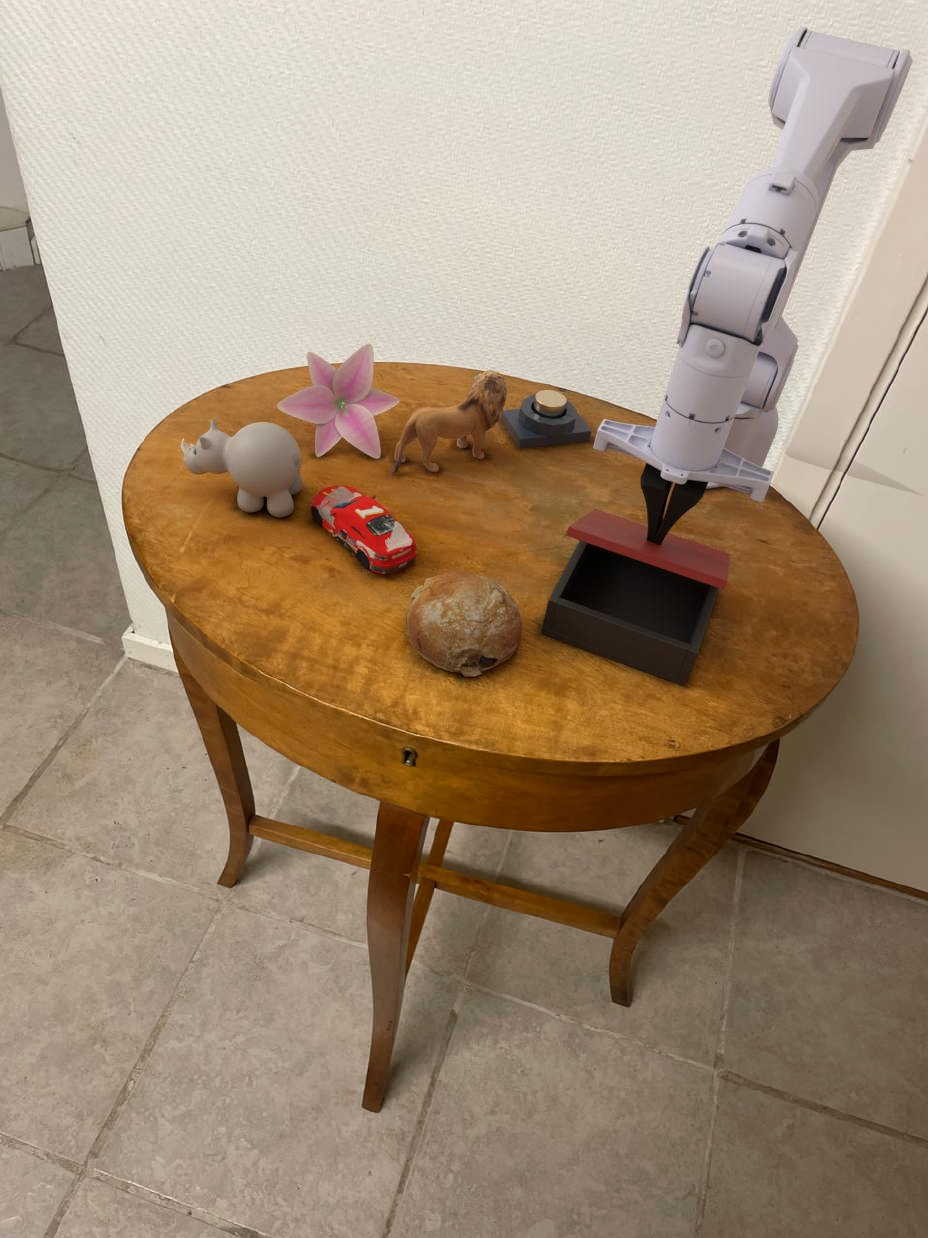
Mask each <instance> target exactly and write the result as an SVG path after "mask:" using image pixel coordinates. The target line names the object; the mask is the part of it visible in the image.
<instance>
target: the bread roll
mask: <svg viewBox="0 0 928 1238" xmlns="http://www.w3.org/2000/svg"><path fill="white" fill-rule="evenodd" d="M410 600H411V601H412V600H413V601H412V603H411V604H410V606H409V609H408V613H407V615H406V622H407V625H406V626H407V632H406V635H407V636H408V637H407V638H408V640H409V642H410V644H411V646H412V649H413V650H414V652H416V653H418V655H419V656H421V658H423V660H425V661H426V662H429V663H431V664H432V665H434V666H435V667H436V668H439V669H441V670H444V671H447V672H451V673H460V674H461V675H462V676H463V677H464V678H466V677H467V678H468V677H469V678H470V677H471V678H472V677H477V676H480V675H483V673H482V672H484V671H488V670H490V669H492V668H494V667H497V666H498V665H499V664H500V663H504V662H506V660H508V659H510V658H511V657H512V656H513V655H514V654H515V653H516V651H517V649H518V646H520V645H519V644H520V643H521V638H522V634H523V633H522V632H523V625H522V618H521V617H522V616H521V613H520V609H519V606H518V605H517V602H516V601H515V599H514V598H513V596H511V594H510V593H509V592H508V591H507V590H506V589H505V588H504V587H503V586H502V585H501V584H500V583H498V582H496V581H494V580H493V579H490V578H488V577H486V576H484V575H481V574H478V573H476V572H473V571H466V570H465V571H463V570H452V571H448V572H443V573H441V574H437V575H434V576H432V577H427V578H425V581H424V583H423V585H419V586H417V587H416V588H415V589H414V591H413V592H412V593H411V597H410Z"/></svg>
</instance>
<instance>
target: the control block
mask: <svg viewBox="0 0 928 1238" xmlns="http://www.w3.org/2000/svg"><path fill="white" fill-rule="evenodd" d="M536 394H537V393H533V394H530V395H528V396H527V397H525V398H523V399H522V401H521V404H520V408H513V409H512V408H511V409H503V411H502V413H501V416H500V422H501V423H502V424H503V426H504V428H505V429H506V431H507V433H508V434H509V435H510V437H511V438H512V440H513V442H514V443H515V445H516V446H517V447H518V449H527V448H535V447H544V446H554V445H562V444H563V445H564V444H571V443H572V444H573V443H581V442H589V441H590V439H591V434H592V430H591V428H590V427H589V426H588V424H587V423H586V422H585V420H584V419H583V418H582V416H581V415H580V413H579V412H578V409H577V408H576V407H575V406H574V404H573V403H572V402H571V401H570V400H568V399H566V400H567V401H566V406H565V411H564V415H563V416H562V417H561V418H558V419H549V418H544V417H541V416H539V415H537V414H535V413H534V411H533V407H534V402H535V396H536Z"/></svg>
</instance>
